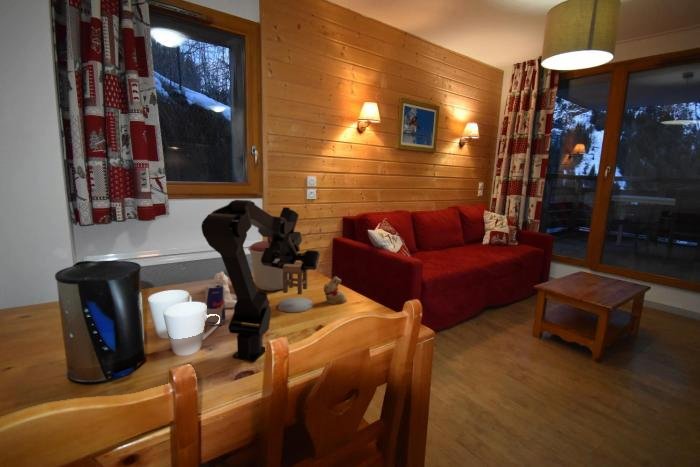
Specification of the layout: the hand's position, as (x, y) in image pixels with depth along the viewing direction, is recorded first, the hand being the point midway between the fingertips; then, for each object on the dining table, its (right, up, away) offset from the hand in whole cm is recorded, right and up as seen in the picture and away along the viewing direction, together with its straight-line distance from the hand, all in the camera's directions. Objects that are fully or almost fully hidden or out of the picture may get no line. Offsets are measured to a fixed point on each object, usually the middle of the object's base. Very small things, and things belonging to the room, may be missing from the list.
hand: (296, 270), depth 116 cm
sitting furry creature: (-25, -12, 0) cm, 28 cm away
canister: (-13, -9, +19) cm, 25 cm away
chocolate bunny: (+13, -12, +5) cm, 19 cm away
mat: (-1, -12, +1) cm, 13 cm away
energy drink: (-23, -15, -13) cm, 30 cm away
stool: (0, -7, 0) cm, 7 cm away
